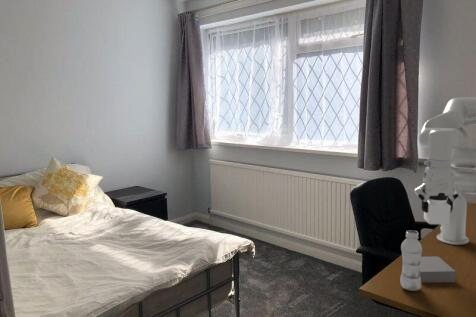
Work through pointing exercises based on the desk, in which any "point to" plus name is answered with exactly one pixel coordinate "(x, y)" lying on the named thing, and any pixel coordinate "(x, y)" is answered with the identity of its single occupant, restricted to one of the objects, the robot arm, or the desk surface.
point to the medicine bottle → (438, 210)
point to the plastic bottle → (411, 262)
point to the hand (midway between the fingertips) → (436, 211)
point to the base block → (435, 270)
